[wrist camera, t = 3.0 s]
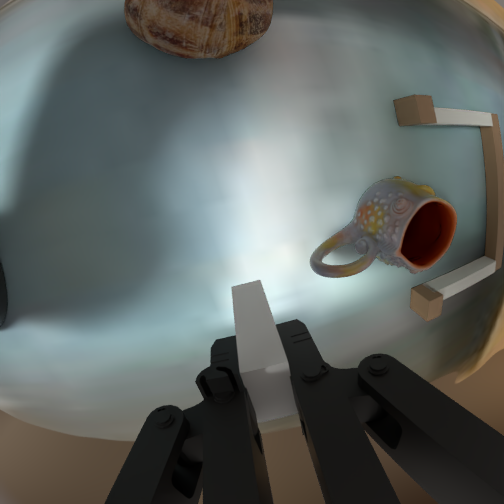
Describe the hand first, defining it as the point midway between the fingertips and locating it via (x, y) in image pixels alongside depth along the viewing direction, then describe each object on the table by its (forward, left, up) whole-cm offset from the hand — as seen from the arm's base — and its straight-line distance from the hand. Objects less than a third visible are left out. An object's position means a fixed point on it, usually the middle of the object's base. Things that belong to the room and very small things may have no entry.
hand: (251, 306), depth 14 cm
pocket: (+24, 0, -8) cm, 25 cm away
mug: (+11, 0, -8) cm, 13 cm away
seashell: (+1, +20, -8) cm, 22 cm away
